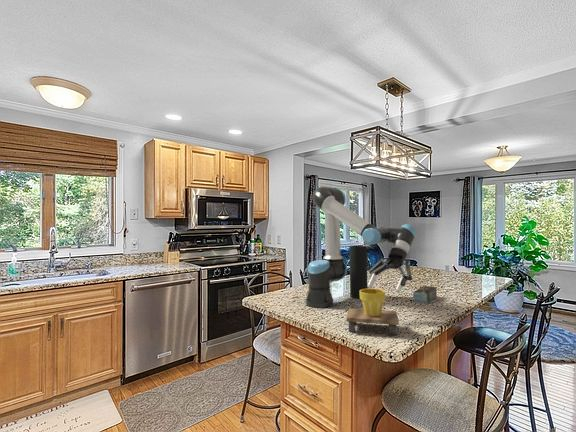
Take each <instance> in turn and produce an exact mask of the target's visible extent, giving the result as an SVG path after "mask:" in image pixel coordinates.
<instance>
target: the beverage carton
mask: <svg viewBox="0 0 576 432" xmlns="http://www.w3.org/2000/svg"><path fill="white" fill-rule="evenodd" d="M412 292H413V294H412V296H413V297H412V298H413V303H417V304H423V305H428V304H430V303H431V302H432V301H434V300H435V299H436V298H437V287H436V286H427V285H422V286H420V287H419V288H417V289H416V290H415V291H412Z"/></svg>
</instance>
